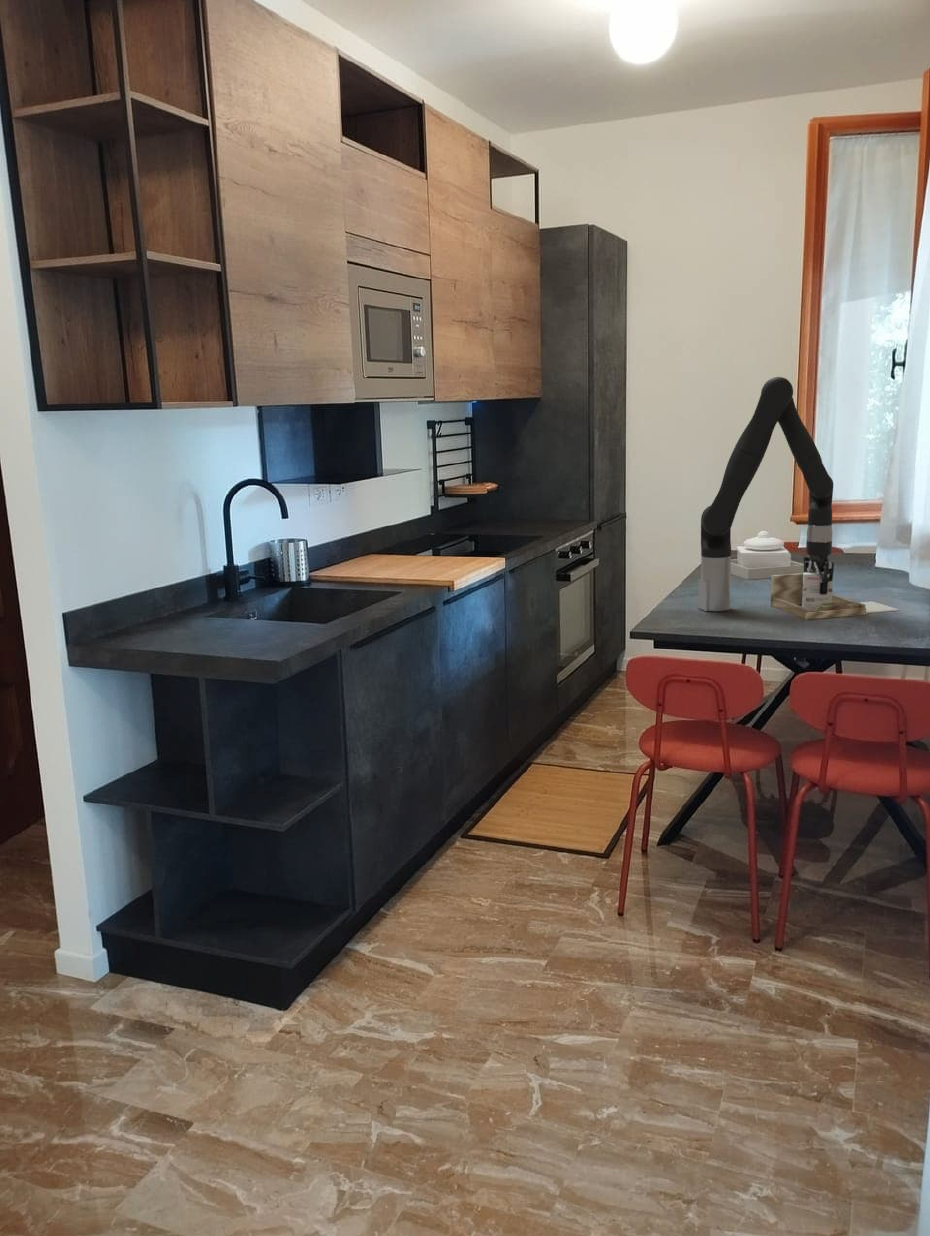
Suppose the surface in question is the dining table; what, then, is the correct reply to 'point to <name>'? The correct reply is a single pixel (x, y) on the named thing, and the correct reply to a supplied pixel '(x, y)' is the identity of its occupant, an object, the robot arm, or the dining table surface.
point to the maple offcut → (852, 606)
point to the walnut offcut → (832, 607)
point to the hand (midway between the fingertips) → (817, 592)
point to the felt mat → (877, 607)
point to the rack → (790, 597)
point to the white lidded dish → (763, 552)
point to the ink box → (815, 592)
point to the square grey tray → (764, 570)
